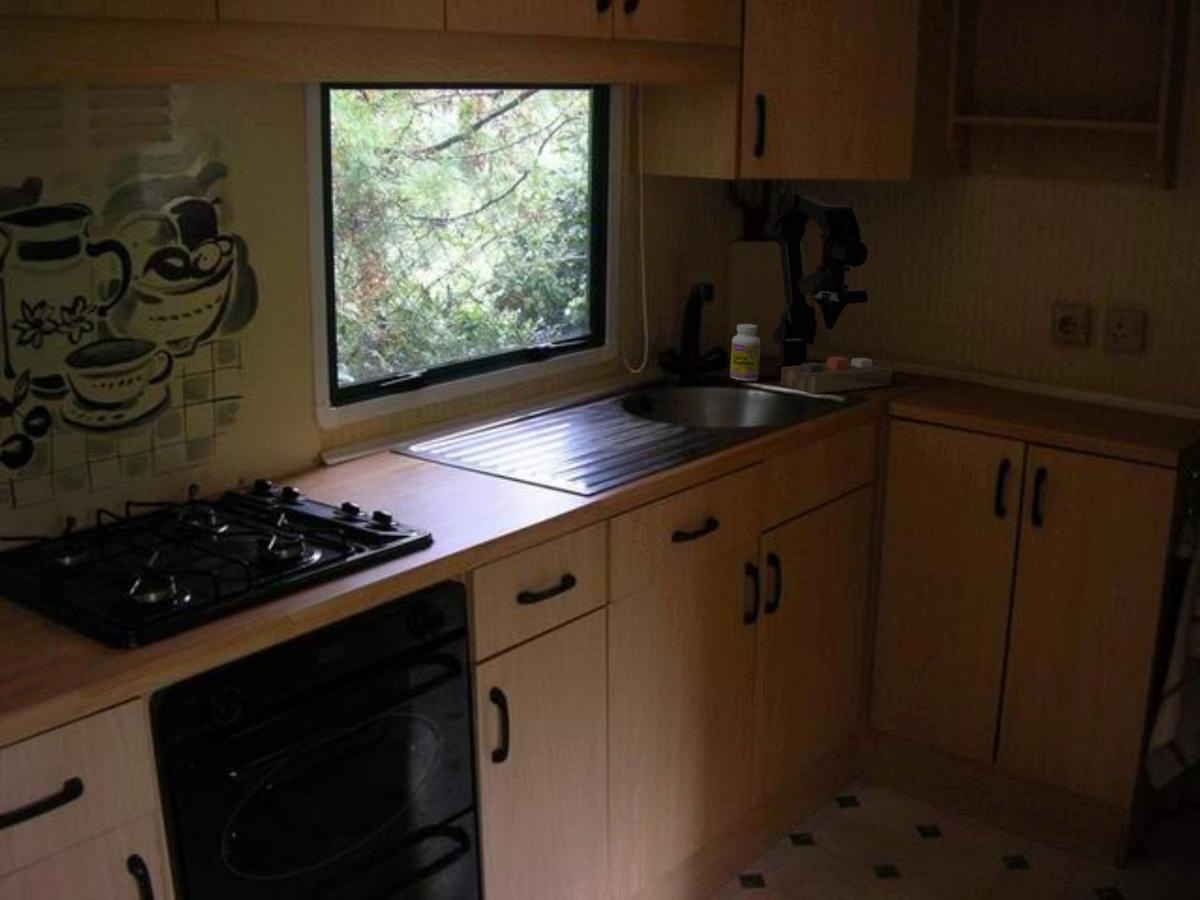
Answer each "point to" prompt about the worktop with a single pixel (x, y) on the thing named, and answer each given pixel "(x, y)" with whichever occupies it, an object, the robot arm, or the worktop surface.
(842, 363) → the plug red
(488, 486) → the worktop surface
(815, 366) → the gray rectangular block
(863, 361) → the plug white
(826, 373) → the block
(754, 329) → the supplement bottle
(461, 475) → the worktop surface
